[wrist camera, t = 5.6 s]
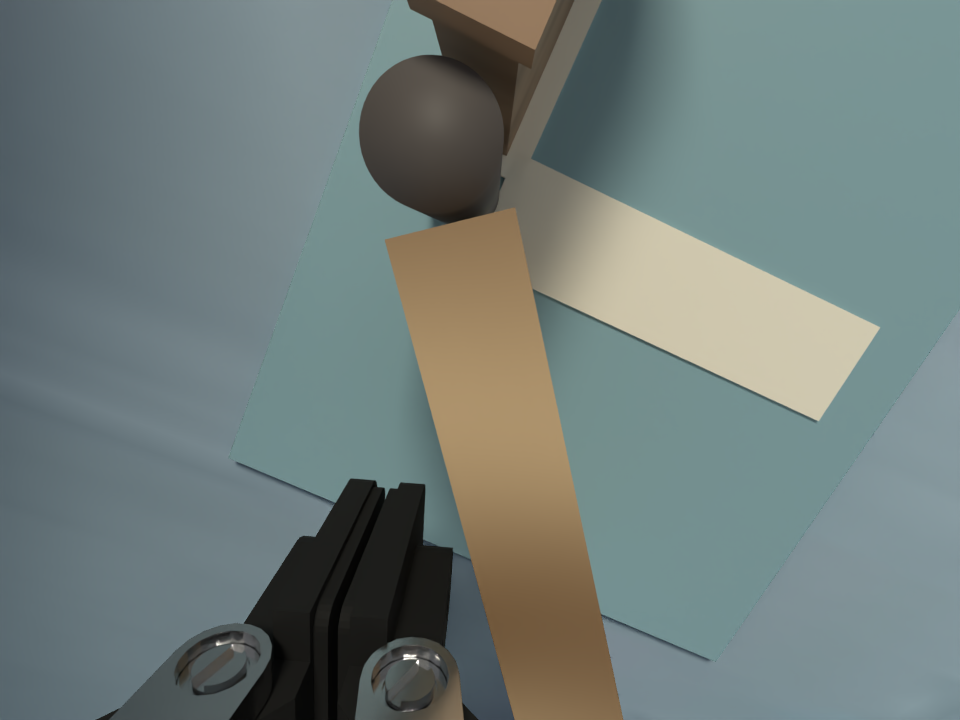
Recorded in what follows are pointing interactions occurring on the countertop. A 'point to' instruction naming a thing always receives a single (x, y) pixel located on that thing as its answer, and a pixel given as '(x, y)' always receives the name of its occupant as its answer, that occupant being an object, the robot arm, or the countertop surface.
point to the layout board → (663, 285)
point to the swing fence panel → (507, 461)
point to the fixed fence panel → (458, 104)
